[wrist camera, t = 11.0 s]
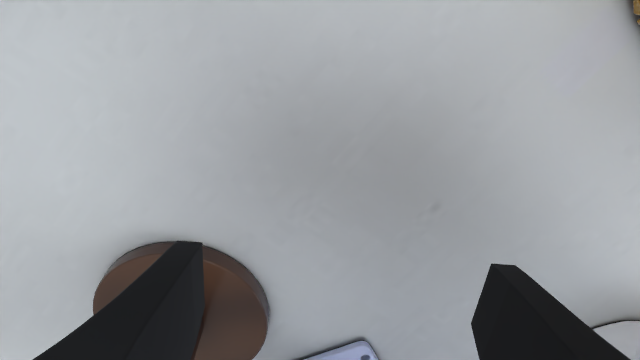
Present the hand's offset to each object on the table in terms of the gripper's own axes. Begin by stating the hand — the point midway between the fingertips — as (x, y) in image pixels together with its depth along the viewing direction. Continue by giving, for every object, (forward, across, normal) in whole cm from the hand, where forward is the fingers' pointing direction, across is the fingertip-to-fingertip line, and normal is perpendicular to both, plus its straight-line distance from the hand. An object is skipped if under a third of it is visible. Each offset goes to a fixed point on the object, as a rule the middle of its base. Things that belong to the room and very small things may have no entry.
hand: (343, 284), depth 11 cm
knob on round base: (+9, +7, +11) cm, 16 cm away
